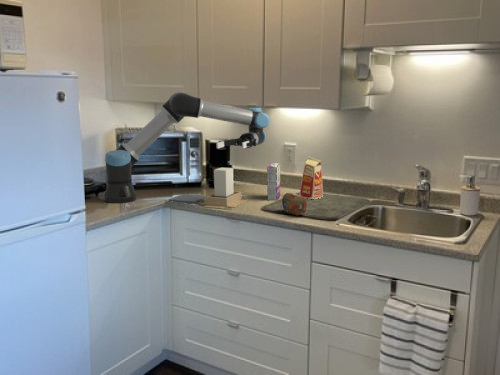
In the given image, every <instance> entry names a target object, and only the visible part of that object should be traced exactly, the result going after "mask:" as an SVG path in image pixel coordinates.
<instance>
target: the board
mask: <svg viewBox="0 0 500 375" xmlns="http://www.w3.org/2000/svg"><path fill="white" fill-rule="evenodd" d="M207 196H208V195H202V194H189V193H183V194H180V195H176V196H174V197H172V198H168V202H169V201H173V202H172V203H180V202H183V203H182V204H190V205H191V204H195V205H196V204H197V203H199V202H202V201H204V200H205V201H206V197H207Z"/></svg>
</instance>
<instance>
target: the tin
mask: <svg viewBox="0 0 500 375" xmlns="http://www.w3.org/2000/svg"><path fill="white" fill-rule="evenodd" d="M281 201H282V207H283V210H284V212H286V211H288V212H290V213H289V214H291V213H292V215H295V216H303V215H305V213H306V212H307V199H305V198H304V197H303V196H300V195H299V194H297V193H293V192H286V193H284V195H283V197H282V200H281ZM288 212H287V213H288Z"/></svg>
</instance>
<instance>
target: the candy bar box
mask: <svg viewBox="0 0 500 375" xmlns="http://www.w3.org/2000/svg"><path fill="white" fill-rule="evenodd" d="M266 175H267V177H266V181H267V201H279V198H281V163H279V162H276V163H275V162H271V163H270V164H268V165H267V166H266Z"/></svg>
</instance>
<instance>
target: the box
mask: <svg viewBox="0 0 500 375" xmlns="http://www.w3.org/2000/svg"><path fill="white" fill-rule="evenodd" d="M213 185H214V189H213V190H214V191H213V192H214V193H213V194H215V197H217V198H227V197H230V196H232V195H234V191H235V190H234V188H235V187H234V167H219V168H216V169H213Z"/></svg>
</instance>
